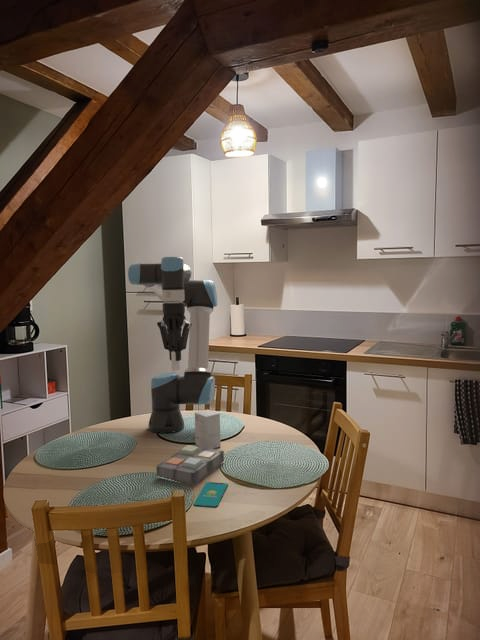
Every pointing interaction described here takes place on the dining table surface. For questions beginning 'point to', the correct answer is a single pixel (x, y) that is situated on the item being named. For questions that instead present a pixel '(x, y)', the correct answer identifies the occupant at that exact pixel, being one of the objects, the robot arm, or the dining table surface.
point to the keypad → (189, 474)
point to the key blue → (192, 463)
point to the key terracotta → (175, 461)
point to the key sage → (190, 450)
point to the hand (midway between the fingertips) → (175, 369)
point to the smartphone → (211, 495)
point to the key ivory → (206, 454)
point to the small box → (207, 429)
